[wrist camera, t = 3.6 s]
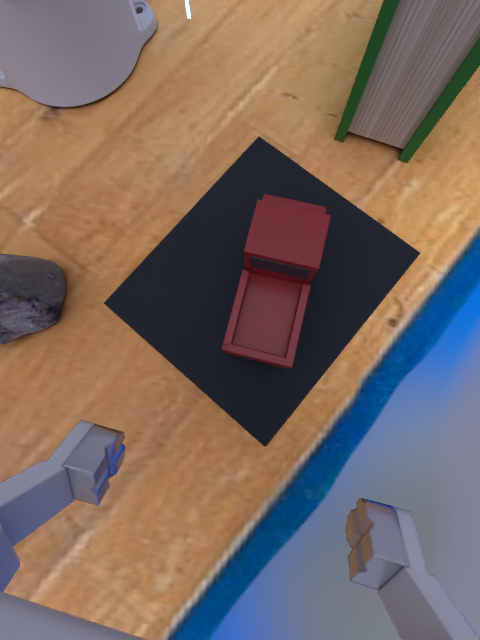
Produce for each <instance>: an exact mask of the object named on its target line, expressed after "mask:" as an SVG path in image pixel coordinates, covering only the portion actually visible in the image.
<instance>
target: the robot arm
mask: <svg viewBox="0 0 480 640" xmlns="http://www.w3.org/2000/svg"><path fill="white" fill-rule="evenodd" d="M185 4H186V12H187V17H188V19H190V18H191V15H190V8H189V0H185ZM157 26H158V23H157V20H156V17H155V14H154V12H153V10H152V9H151V7H150V6H149V5H148V3H147V2H146V0H0V86H1V87H6V88H13V89H16V90H18V91H20V92H22V93H23V94H25V95H26V96H28V97H29V98H31V99H33V100H35V101H37V102H39V103H42V104H45V105H50V106H56V107H73V106H80V105H84V104H88V103H91V102H94V101H96V100H98V99H101V98H103V97H105V96H106V95H108V94H110V93H111V92H112V91H114V90H115V89H116V88H118V87H119V86H120V85H121V84H122V83H123V82H124V81H125V80H126V79H127V77H128V76H129V75H130V73H131V72H132V70H133V68H134V67H135V65H136V62H137V60H138V57H139V54H140V51H141V48H142V46H143V45H144V43H145V42H146V41H147V40H148V39H149V38H150V37H151V36H152V35H153V33H154V32H155V31H156V29H157ZM124 439H125V436H124V432H122V431H118V430H115V429H111V428H107V427H104V426H100V425H97V424H94V423H91V422H87V421H83V420H81V421H80V422H79V423H77V424H76V425H75V426H74V428H73V429H72V430H71V431H70V433H69V434H68V435H67V436H66V438H65V439H64V440H63V441H62V443H61V444H60V445H59V446H58V448H57V449H56V450H55V451H54V453H53V454H52V455H51V456H50V457H49V459H48V460H47V461H40V462H38V463H37V464H35V465H33V466H31V467H29V468H27V469H25V470H23V471H22V472H20V473H18V474H16V475H14V476H12V477H10V478H9V479H7V480H5V481H3V482H1V483H0V640H147V639H144V638H141V637H138V636H134V635H131V634H128V633H125V632H122V631H119V630H116V629H113V628H110V627H107V626H104V625H101V624H98V623H95V622H92V621H89V620H86V619H83V618H80V617H77V616H74V615H71V614H68V613H65V612H62V611H59V610H55V609H52V608H49V607H46V606H43V605H40V604H37V603H34V602H31V601H28V600H25V599H22V598H19V597H16V596H13V595H10V594H7V593H4V592H3V591H4V589H5V588H6V586H7V585H8V583H9V582H10V580H11V579H12V577H13V576H14V574H15V572H16V571H17V569H18V568H19V566H20V559H19V557H18V556H17V554H16V552H15V550H14V548H13V546H14V545H16V544H17V543H18V542H20V541H21V540H22V539H24V538H25V537H26V536H28V535H29V534H30V533H32V532H33V531H34V530H36V529H37V528H38V527H40V526H41V525H42V524H44V523H45V522H46V521H48V520H49V519H50V518H52V517H53V516H54V515H56V514H57V513H58V512H60V511H61V510H62V509H64V508H65V507H66V506H68V505H69V504H70V503H72V502H73V501H74V499H75V500H79V501H83V502H86V503H90V504H94V505H99V504H100V502H101V500H102V498H103V497H104V495H105V493H106V491H107V490H108V488H109V478H110V477H112V476H114V475H115V474H117V472H118V470H119V468H120V466H121V464H122V462H123V459H124V456H125V445H124V444H123V443H122V442H123V440H124ZM356 505H357V508H356V509H354V510H351V512H350V513H349V515H348V518H347V523H346V539H347V542H348V543H349V545H350V547H351V548H352V551H351V552H350V554H349V556H348V561H349V571H350V581H352V582H355V583H358V584H361V585H364V586H367V587H370V588H373V589H376V590H379V591H378V594H379V596H380V598H381V600H382V601H383V604H384V606H385V608H386V610H387V611H388V613H389V615H390V618H391V620H392V621H393V624H394V625H395V627H396V629H397V631H398V633H399V635H400V637H401V639H402V640H480V639H479V637H478V636H477V635H476V633H475V632H474V630H473V629H472V628H471V626H470V625H469V624H468V622H467V621H466V619H465V618H464V617H463V615H462V614H461V612H460V611H459V610H458V608H457V607H456V606H455V604H454V603H453V601H452V600H451V599H450V597H449V596H448V594H447V593H446V592H445V591H444V589H443V588H442V586H441V585H440V583H439V582H438V581H437V579H436V578H435V576H434V575H432V574H429V573H428V570H427V567H426V563H425V559H424V556H423V552H422V548H421V545H420V541H419V537H418V534H417V530H416V527H415V523H414V519H413V516H412V514H411V513H410V512H409V511H407V510H404V509H400V508H396V507H392V506H390V505H386V504H382V503H378V502H375V501H371V500H367V499H363V498H362V499H359V500H358V501H357V503H356Z"/></svg>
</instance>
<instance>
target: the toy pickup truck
mask: <svg viewBox="0 0 480 640" xmlns="http://www.w3.org/2000/svg"><path fill="white" fill-rule="evenodd" d="M330 218H331V216H330V215H326V207H323V206H319V205H314V204H310V203H305V202H300V201H296V200H291V199H286V198H282V197H277V196H273V195H268V194H264V197H263V199H262V200H257V204H256V207H255V209H254V213H253V217H252V220H251V224H250V228H249V231H248V235H247V239H246V243H245V244H246V245H245V248H244V264H245V267H244V270H242V273H241V277H240V281H239V284H238V288H237V292H236V296H235V299H234V303H233V307H232V311H231V313H230V317H229V320H228V324H227V328H226V333H225V337H224V341H223V345H222V348H221V349H222V350H223V351H224V352H225V353H226V354H230V355H234V356H238V357H242V358H246V359H250V360H254V361H258V362H262V363H265V364H269V365H273V366H277V367H281V368H285V369H286V368H292V366H293V362H294V358H295V353H296V349H297V344H298V340H299V336H300V331H301V327H302V322H303V318H304V314H305V309H306V305H307V300H308V296H309V291H310V287H311V285H309V284H310V281H311V280H312V278H313V277H314V275H315V274H316V272H317V271H318V269H319V267H320V262H321V260H322V255H323V251H324V246H325V242H326V237H327V233H328V228H329V222H330Z"/></svg>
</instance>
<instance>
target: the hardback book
mask: <svg viewBox="0 0 480 640" xmlns="http://www.w3.org/2000/svg"><path fill="white" fill-rule="evenodd" d="M479 65H480V0H384V1H383V4H382V7H381V10H380V12H379V15H378V18H377V21H376V24H375V26H374V29H373V32H372V35H371V38H370V40H369V43H368V46H367V49H366V52H365V54H364V57H363V60H362V63H361V66H360V68H359V71H358V74H357V77H356V80H355V82H354V85H353V88H352V91H351V94H350V96H349V99H348V102H347V105H346V108H345V110H344V113H343V116H342V119H341V122H340V124H339V127H338V130H337V133H336V136H335V138H334V139H336V140H339V141H342V142H343V141H344V139H345V136H346V134H347V131H349V132H352V133H355V134H358V135H361V136H364V137H367V138H371V139H374V140H377V141H380V142H383V143H386V144H389V145H392V146H396V147H399V148H402V150H401V153H400V156H399V158H398V160H401V161H404V162H408V161H409V160H410V158H411V157H412V156H413V154H414V153H415V152H416V150H417V149H418V148H419V146H420V145H421V144H422V142H423V141H424V140H425V138H426V137H427V136H428V134H429V133H430V131H431V130H432V129H433V127H434V126H435V125H436V123H437V122H438V121H439V119H440V118H441V117H442V115H443V114H444V113H445V111H446V110H447V109H448V107H449V106H450V105H451V103H452V102H453V100H454V99H455V98H456V96H457V95H458V94H459V92H460V91H461V90H462V88H463V87H464V86H465V84H466V83H467V82H468V80H469V79H470V78H471V76H472V75H473V74H474V72H475V71H476V69H477V68H478V67H479Z"/></svg>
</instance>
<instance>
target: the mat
mask: <svg viewBox="0 0 480 640" xmlns="http://www.w3.org/2000/svg"><path fill="white" fill-rule="evenodd" d="M264 194H268V195H273V196H277V197H282V198H286V199H291V200H296V201H300V202H305V203H310V204H314V205H319V206H323V207H326V215H330V216H331V218H330V222H329V228H328V233H327V237H326V242H325V246H324V251H323V255H322V260H321V262H320V267H319V269H318V271H317V272H316V274H315V275H314V277H313V278H312V280H311V281H310V284H309V285H311V287H310V291H309V296H308V300H307V305H306V309H305V314H304V318H303V322H302V327H301V331H300V336H299V340H298V344H297V349H296V353H295V358H294V362H293V366H292V368H286V369H285V368H281V367H277V366H273V365H269V364H265V363H262V362H258V361H254V360H250V359H246V358H242V357H238V356H234V355H230V354H226V353H225V352H224V351H223V350H222V349H221V348H222V345H223V341H224V337H225V333H226V328H227V324H228V320H229V317H230V313H231V311H232V307H233V303H234V299H235V296H236V292H237V288H238V284H239V281H240V277H241V273H242V270H244V267H245V264H244V248H245V245H246V244H245V243H246V239H247V235H248V231H249V228H250V224H251V220H252V217H253V213H254V209H255V207H256V204H257V200H262V199H263V197H264ZM419 254H420V252H418V251H417V250H416V249H414V248H413V247H411V246H410V245H409V244H407V243H406V242H404V241H403V240H402V239H400V238H399V237H398V236H396V235H395V234H393V233H392V232H391V231H389V230H388V229H386V228H385V227H384V226H382V225H381V224H380V223H378V222H377V221H375V220H374V219H373V218H371V217H370V216H368V215H367V214H366V213H364V212H363V211H362V210H360V209H359V208H357V207H356V206H355V205H353V204H352V203H350V202H349V201H348V200H346V199H345V198H344V197H342V196H341V195H339V194H338V193H337V192H335V191H334V190H332V189H331V188H330V187H328V186H327V185H326V184H324V183H323V182H321V181H320V180H319V179H317V178H316V177H314V176H313V175H312V174H310V173H309V172H308V171H306V170H305V169H303V168H302V167H301V166H299V165H298V164H296V163H295V162H294V161H292V160H291V159H290V158H288V157H287V156H285V155H284V154H283V153H281V152H280V151H278V150H277V149H276V148H274V147H273V146H272V145H270V144H269V143H267V142H266V141H265V140H263V139H262V138H261V137H258V138H257V139H256V140H255V141H254V142H253V143H252V144H251V145H250V147H249V148H248V149H247V150H246V151H245V152H244V153H243V154H242V155H241V156H240V157H239V158H238V159H237V161H236V162H235V163H234V164H233V165H232V166H231V167H230V168H229V169H228V170H227V171H226V172H225V173H224V175H223V176H222V177H221V178H220V179H219V180H218V181H217V182H216V183H215V184H214V185H213V186H212V187H211V189H210V190H209V191H208V192H207V193H206V194H205V195H204V196H203V197H202V198H201V199H200V200H199V201H198V203H197V204H196V205H195V206H194V207H193V208H192V209H191V210H190V211H189V212H188V213H187V214H186V215H185V217H184V218H183V219H182V220H181V221H180V222H179V223H178V224H177V225H176V226H175V227H174V228H173V229H172V230H171V232H170V233H169V234H168V235H167V236H166V237H165V238H164V239H163V240H162V241H161V242H160V243H159V244H158V246H157V247H156V248H155V249H154V250H153V251H152V252H151V253H150V254H149V255H148V256H147V257H146V258H145V260H144V261H143V262H142V263H141V264H140V265H139V266H138V267H137V268H136V269H135V270H134V271H133V272H132V274H131V275H130V276H129V277H128V278H127V279H126V280H125V281H124V282H123V283H122V284H121V285H120V286H119V288H118V289H117V290H116V291H115V292H114V293H113V294H112V295H111V296H110V297H109V298H108V299H107V300H106V302H105V304H106V305H107V306H108V307H109V308H110V309H111V310H112V311H114V312H115V313H116V314H117V315H118V316H119V317H120V318H121V319H122V320H124V321H125V322H126V323H127V324H128V325H129V326H130V327H131V328H133V329H134V330H135V331H136V332H137V333H138V334H139V335H140V336H142V337H143V338H144V339H145V340H146V341H147V342H148V343H149V344H151V345H152V346H153V347H154V348H155V349H156V350H157V351H158V352H159V353H161V354H162V355H163V356H164V357H165V358H166V359H167V360H168V361H170V362H171V363H172V364H173V365H174V366H175V367H176V368H177V369H179V370H180V371H181V372H182V373H183V374H184V375H185V376H186V377H188V378H189V379H190V380H191V381H192V382H193V383H194V384H195V385H196V386H198V387H199V388H200V389H201V390H202V391H203V392H204V393H205V394H207V395H208V396H209V397H210V398H211V399H212V400H213V401H214V402H216V403H217V404H218V405H219V406H220V407H221V408H222V409H223V410H225V411H226V412H227V413H228V414H229V415H230V416H231V417H232V418H233V419H235V420H236V421H237V422H238V423H239V424H240V425H241V426H242V427H244V428H245V429H246V430H247V431H248V432H249V433H250V434H251V435H253V436H254V437H255V438H256V439H257V440H258V441H259V442H260V443H262V444H263V445H264V446H266V445H267V444H268V443H269V441H270V440H271V439H272V438H273V436H274V435H275V434H276V433H277V431H278V430H279V429H280V428H281V426H282V425H283V424H284V423H285V421H286V420H287V419H288V418H289V416H290V415H291V414H292V413H293V411H294V410H295V409H296V408H297V406H298V405H299V404H300V403H301V401H302V400H303V399H304V398H305V396H306V395H307V394H308V393H309V391H310V390H311V389H312V388H313V386H314V385H315V384H316V383H317V381H318V380H319V379H320V378H321V376H322V375H323V374H324V373H325V371H326V370H327V369H328V368H329V366H330V365H331V364H332V363H333V361H334V360H335V359H336V358H337V356H338V355H339V354H340V353H341V351H342V350H343V349H344V348H345V346H346V345H347V344H348V343H349V341H350V340H351V339H352V338H353V336H354V335H355V334H356V333H357V331H358V330H359V329H360V328H361V326H362V325H363V324H364V323H365V321H366V320H367V319H368V318H369V316H370V315H371V314H372V313H373V311H374V310H375V309H376V308H377V306H378V305H379V304H380V303H381V301H382V300H383V299H384V298H385V296H386V295H387V294H388V293H389V291H390V290H391V289H392V288H393V286H394V285H395V284H396V283H397V281H398V280H399V279H400V278H401V276H402V275H403V274H404V273H405V271H406V270H407V269H408V268H409V266H410V265H411V264H412V263H413V261H414V260H415V259H416V258H417V256H418V255H419Z"/></svg>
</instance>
